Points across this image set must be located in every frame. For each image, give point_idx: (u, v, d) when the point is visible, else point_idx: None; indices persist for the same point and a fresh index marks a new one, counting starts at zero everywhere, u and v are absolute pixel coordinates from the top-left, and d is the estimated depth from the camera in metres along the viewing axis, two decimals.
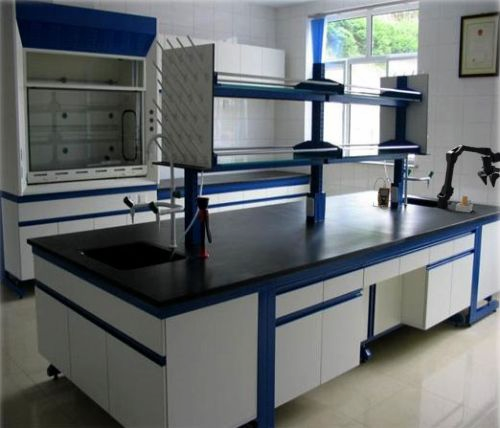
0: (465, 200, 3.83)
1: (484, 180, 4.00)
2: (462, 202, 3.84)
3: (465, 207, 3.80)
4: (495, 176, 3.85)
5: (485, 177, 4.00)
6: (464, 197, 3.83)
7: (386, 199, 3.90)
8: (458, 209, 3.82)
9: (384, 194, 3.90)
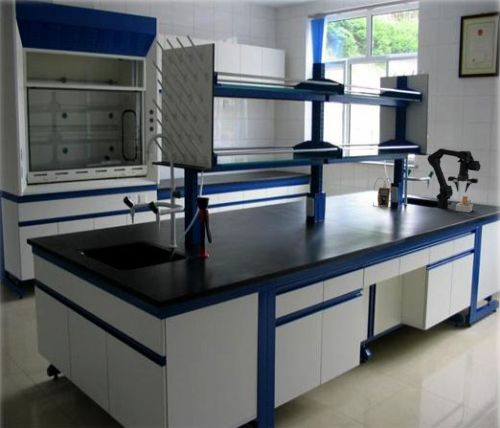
0: (465, 200, 3.83)
1: (466, 187, 3.79)
2: (462, 202, 3.84)
3: (465, 207, 3.80)
4: None
5: None
6: (464, 197, 3.83)
7: (386, 199, 3.90)
8: (458, 209, 3.82)
9: (384, 194, 3.90)
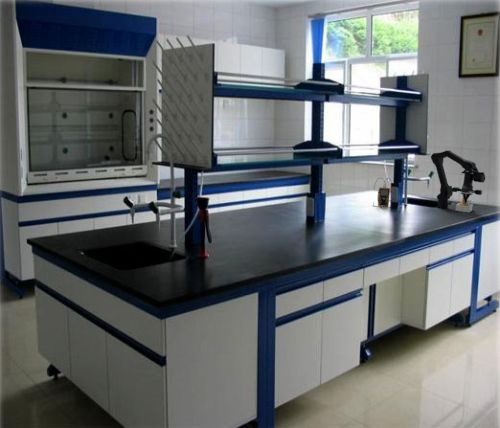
0: None
1: None
2: (462, 202, 3.84)
3: (465, 207, 3.80)
4: None
5: (466, 195, 3.78)
6: None
7: (386, 199, 3.90)
8: (458, 209, 3.82)
9: (384, 194, 3.90)
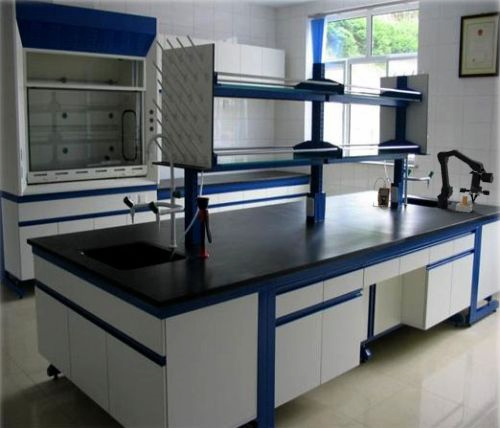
0: (465, 200, 3.83)
1: None
2: (462, 202, 3.84)
3: (465, 207, 3.80)
4: None
5: (474, 196, 3.77)
6: (464, 197, 3.83)
7: (386, 199, 3.90)
8: (458, 209, 3.82)
9: (384, 194, 3.90)
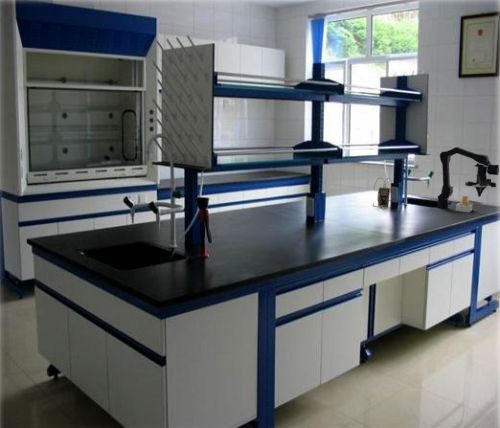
0: (465, 200, 3.83)
1: None
2: (462, 202, 3.84)
3: (465, 207, 3.80)
4: (466, 183, 3.77)
5: (481, 188, 3.76)
6: (464, 197, 3.83)
7: (386, 199, 3.90)
8: (458, 209, 3.82)
9: (384, 194, 3.90)
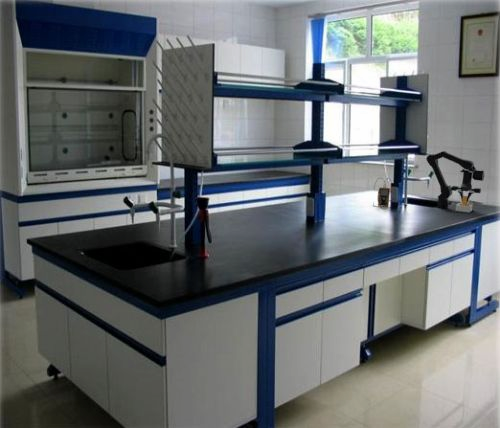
0: (465, 200, 3.83)
1: (468, 196, 3.83)
2: (462, 202, 3.84)
3: (465, 207, 3.80)
4: None
5: (468, 194, 3.82)
6: (464, 197, 3.83)
7: (386, 199, 3.90)
8: (458, 209, 3.82)
9: (384, 194, 3.90)
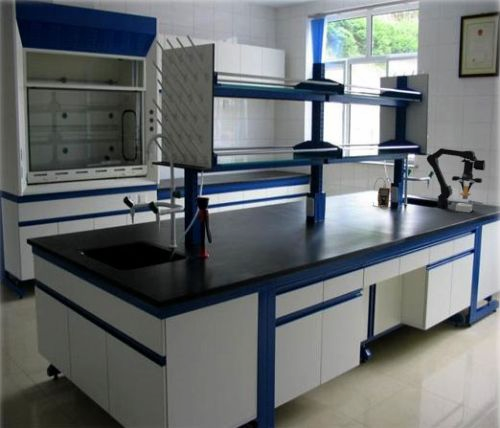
0: (466, 190, 3.81)
1: (469, 186, 3.82)
2: (463, 192, 3.82)
3: (465, 207, 3.80)
4: None
5: None
6: (465, 187, 3.81)
7: (386, 199, 3.90)
8: (458, 209, 3.82)
9: (384, 194, 3.90)
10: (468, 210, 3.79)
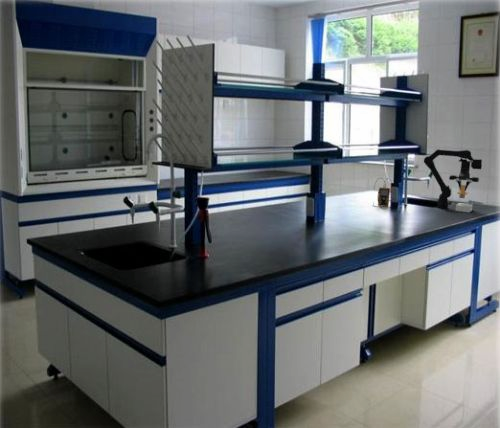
0: (463, 189, 3.85)
1: (466, 185, 3.86)
2: (460, 191, 3.86)
3: (465, 207, 3.80)
4: None
5: None
6: (462, 186, 3.85)
7: (386, 199, 3.90)
8: (458, 209, 3.82)
9: (384, 194, 3.90)
10: (468, 210, 3.79)
